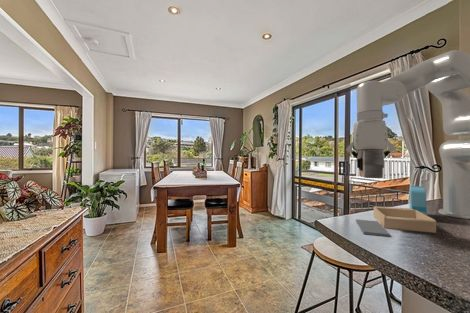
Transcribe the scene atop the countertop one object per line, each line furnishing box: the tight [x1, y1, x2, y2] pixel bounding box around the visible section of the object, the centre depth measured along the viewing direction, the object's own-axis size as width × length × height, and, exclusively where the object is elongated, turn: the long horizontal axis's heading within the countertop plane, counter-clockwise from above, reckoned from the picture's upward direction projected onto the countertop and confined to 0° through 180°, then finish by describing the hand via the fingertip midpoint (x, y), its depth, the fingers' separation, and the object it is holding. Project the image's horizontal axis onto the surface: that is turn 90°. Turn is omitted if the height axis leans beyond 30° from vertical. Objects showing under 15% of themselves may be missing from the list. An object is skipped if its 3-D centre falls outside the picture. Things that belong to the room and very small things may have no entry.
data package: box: [409, 185, 428, 216], centre depth 87 cm, size 12×4×12 cm, turn 142°
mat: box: [355, 218, 390, 238], centre depth 73 cm, size 7×14×1 cm, turn 159°
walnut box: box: [358, 150, 384, 179], centre depth 73 cm, size 5×10×9 cm, turn 159°
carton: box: [373, 205, 438, 234], centre depth 77 cm, size 14×18×4 cm
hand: (370, 169), depth 73 cm, fingers closed on walnut box, 5 cm apart
